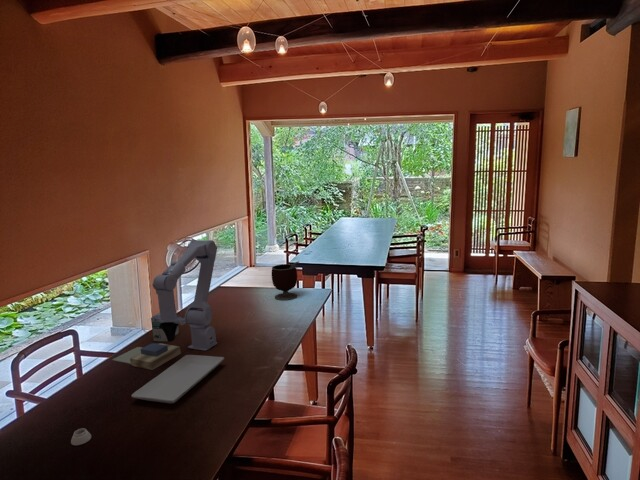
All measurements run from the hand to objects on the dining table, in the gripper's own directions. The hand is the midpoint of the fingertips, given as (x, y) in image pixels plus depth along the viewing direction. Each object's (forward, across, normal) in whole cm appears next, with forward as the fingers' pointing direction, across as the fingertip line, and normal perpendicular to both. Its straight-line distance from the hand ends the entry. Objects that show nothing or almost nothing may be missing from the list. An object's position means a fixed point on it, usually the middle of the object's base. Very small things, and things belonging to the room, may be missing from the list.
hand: (171, 340), depth 172 cm
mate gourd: (+9, +2, +86) cm, 86 cm away
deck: (+9, -9, 0) cm, 13 cm away
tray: (+10, +14, -12) cm, 21 cm away
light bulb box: (+9, -22, +20) cm, 31 cm away
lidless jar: (+10, +11, -48) cm, 50 cm away
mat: (+9, -20, 0) cm, 22 cm away
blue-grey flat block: (+6, -10, 0) cm, 11 cm away
